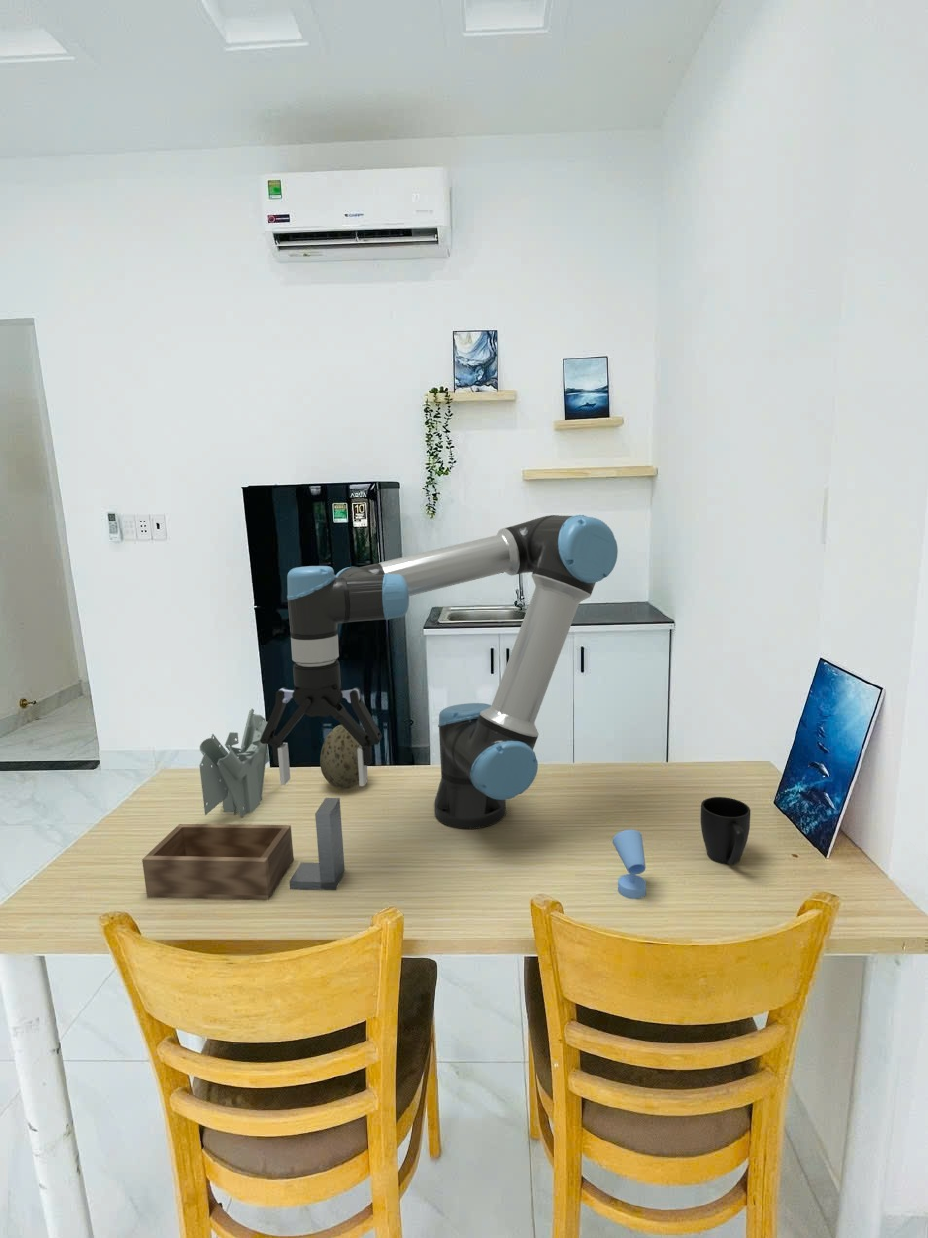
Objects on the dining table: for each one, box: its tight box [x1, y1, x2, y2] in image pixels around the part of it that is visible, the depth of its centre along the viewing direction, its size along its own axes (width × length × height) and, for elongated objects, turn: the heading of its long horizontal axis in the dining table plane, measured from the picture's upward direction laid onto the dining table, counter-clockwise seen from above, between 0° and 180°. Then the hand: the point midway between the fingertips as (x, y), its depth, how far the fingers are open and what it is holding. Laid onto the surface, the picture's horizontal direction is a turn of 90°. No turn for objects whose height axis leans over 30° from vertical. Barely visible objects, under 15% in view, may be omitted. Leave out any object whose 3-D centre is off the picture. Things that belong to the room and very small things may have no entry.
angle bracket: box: [288, 797, 346, 891], centre depth 115 cm, size 8×6×14 cm
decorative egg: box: [319, 724, 360, 790], centre depth 153 cm, size 11×11×15 cm
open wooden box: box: [141, 823, 295, 901], centre depth 118 cm, size 21×12×7 cm, turn 85°
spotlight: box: [612, 829, 647, 900], centre depth 110 cm, size 5×10×7 cm
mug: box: [700, 796, 752, 866], centre depth 117 cm, size 8×12×10 cm
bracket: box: [199, 708, 270, 818], centre depth 144 cm, size 28×7×20 cm, turn 170°
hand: (324, 782), depth 113 cm, fingers open, 13 cm apart
